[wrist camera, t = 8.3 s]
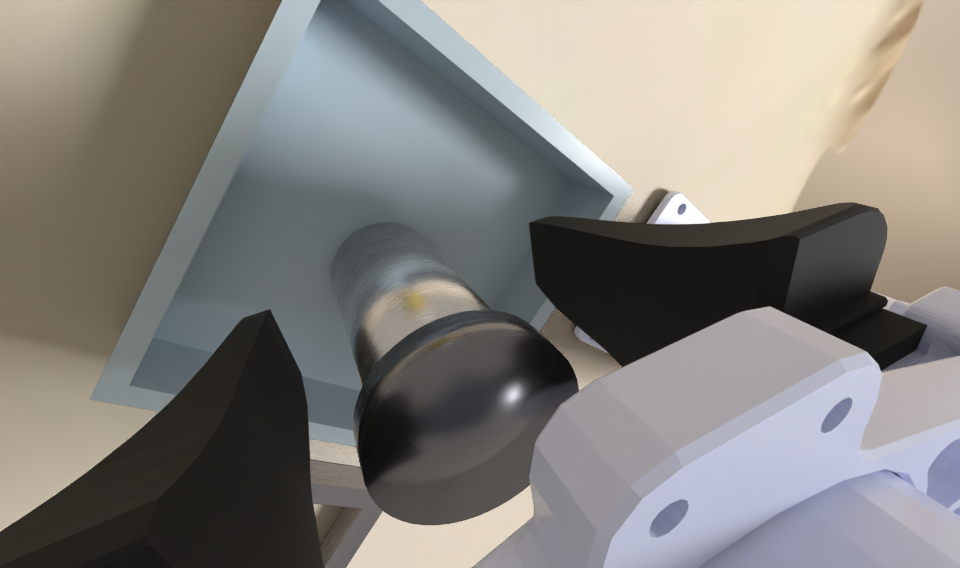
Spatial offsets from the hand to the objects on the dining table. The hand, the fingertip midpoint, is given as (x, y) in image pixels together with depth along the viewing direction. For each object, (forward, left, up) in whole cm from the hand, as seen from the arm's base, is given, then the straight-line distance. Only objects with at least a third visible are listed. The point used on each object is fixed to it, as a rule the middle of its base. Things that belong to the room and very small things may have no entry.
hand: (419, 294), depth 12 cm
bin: (0, 0, -4) cm, 4 cm away
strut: (0, +1, -4) cm, 4 cm away
